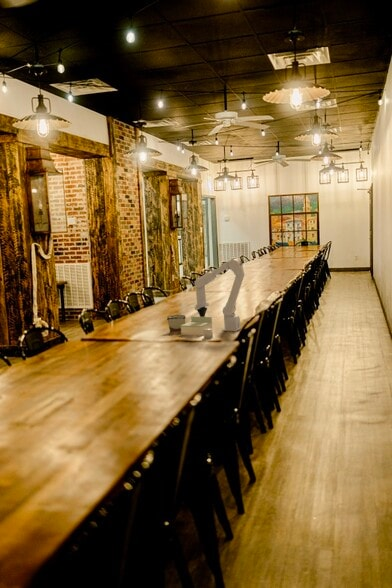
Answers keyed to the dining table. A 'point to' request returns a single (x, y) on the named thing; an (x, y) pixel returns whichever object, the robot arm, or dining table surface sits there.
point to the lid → (198, 321)
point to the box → (195, 330)
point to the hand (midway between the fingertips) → (202, 319)
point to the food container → (176, 322)
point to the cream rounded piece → (208, 333)
